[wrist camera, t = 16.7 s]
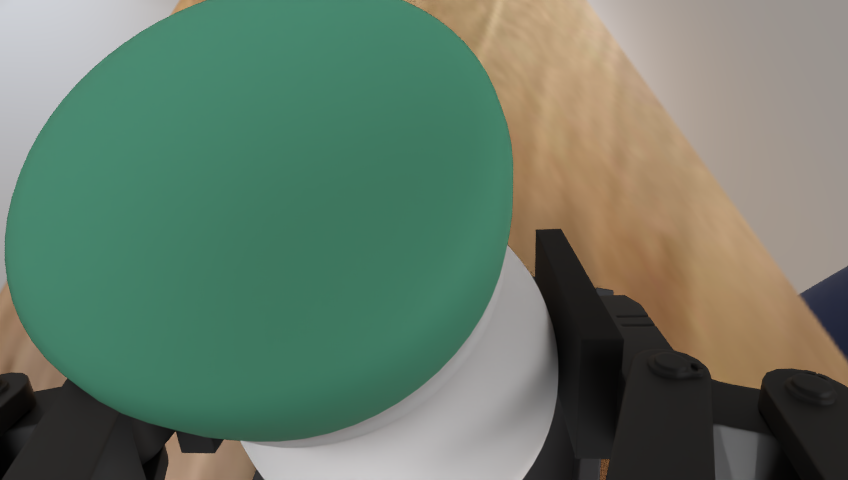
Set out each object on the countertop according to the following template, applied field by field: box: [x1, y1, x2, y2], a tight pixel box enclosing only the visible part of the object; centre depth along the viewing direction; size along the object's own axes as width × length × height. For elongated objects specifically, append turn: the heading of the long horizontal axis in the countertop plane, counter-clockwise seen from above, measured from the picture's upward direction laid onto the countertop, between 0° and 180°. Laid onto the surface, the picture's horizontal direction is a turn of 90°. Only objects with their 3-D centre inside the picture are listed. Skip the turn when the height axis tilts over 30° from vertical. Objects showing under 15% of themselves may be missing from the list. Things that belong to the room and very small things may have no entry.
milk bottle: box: [5, 0, 558, 480], centre depth 13 cm, size 8×8×20 cm
